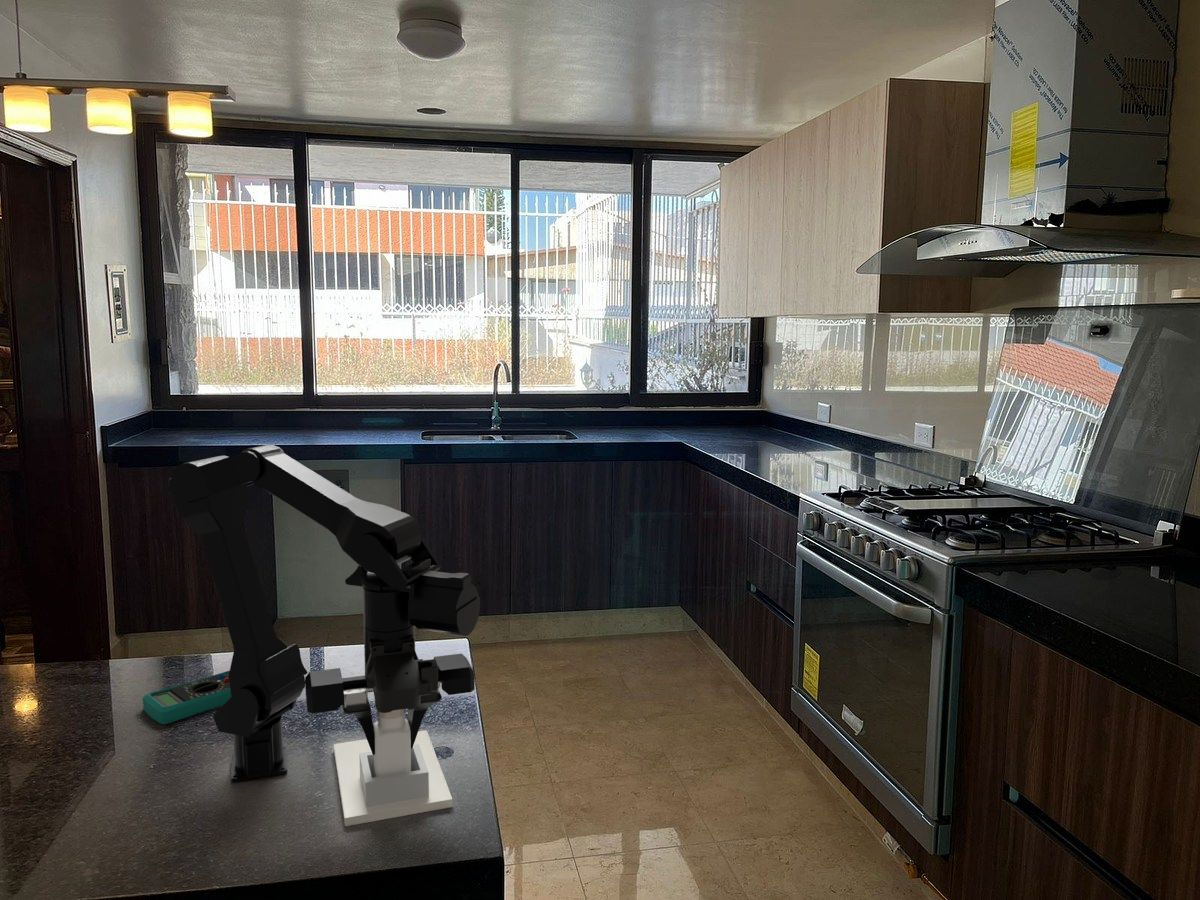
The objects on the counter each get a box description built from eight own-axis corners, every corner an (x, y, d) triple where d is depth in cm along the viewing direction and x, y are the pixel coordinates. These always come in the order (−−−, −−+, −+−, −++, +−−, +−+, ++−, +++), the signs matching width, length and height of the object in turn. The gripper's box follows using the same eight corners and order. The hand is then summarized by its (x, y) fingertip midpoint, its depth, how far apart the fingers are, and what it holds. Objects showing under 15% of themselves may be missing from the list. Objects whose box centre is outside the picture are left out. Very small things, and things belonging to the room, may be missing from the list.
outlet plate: (333, 751, 115) (332, 722, 115) (426, 737, 120) (426, 709, 119) (345, 826, 99) (343, 793, 98) (452, 806, 103) (452, 774, 102)
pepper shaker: (407, 763, 108) (406, 689, 106) (411, 780, 104) (410, 703, 102) (373, 768, 106) (371, 693, 105) (376, 785, 103) (374, 708, 101)
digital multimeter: (265, 696, 133) (264, 677, 132) (161, 729, 122) (159, 709, 122) (242, 682, 138) (241, 664, 137) (141, 712, 127) (139, 693, 126)
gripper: (306, 659, 92) (312, 799, 94) (484, 638, 98) (485, 770, 100) (302, 623, 102) (307, 750, 104) (464, 607, 108) (465, 727, 111)
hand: (392, 750), depth 105 cm, fingers closed on pepper shaker, 4 cm apart
